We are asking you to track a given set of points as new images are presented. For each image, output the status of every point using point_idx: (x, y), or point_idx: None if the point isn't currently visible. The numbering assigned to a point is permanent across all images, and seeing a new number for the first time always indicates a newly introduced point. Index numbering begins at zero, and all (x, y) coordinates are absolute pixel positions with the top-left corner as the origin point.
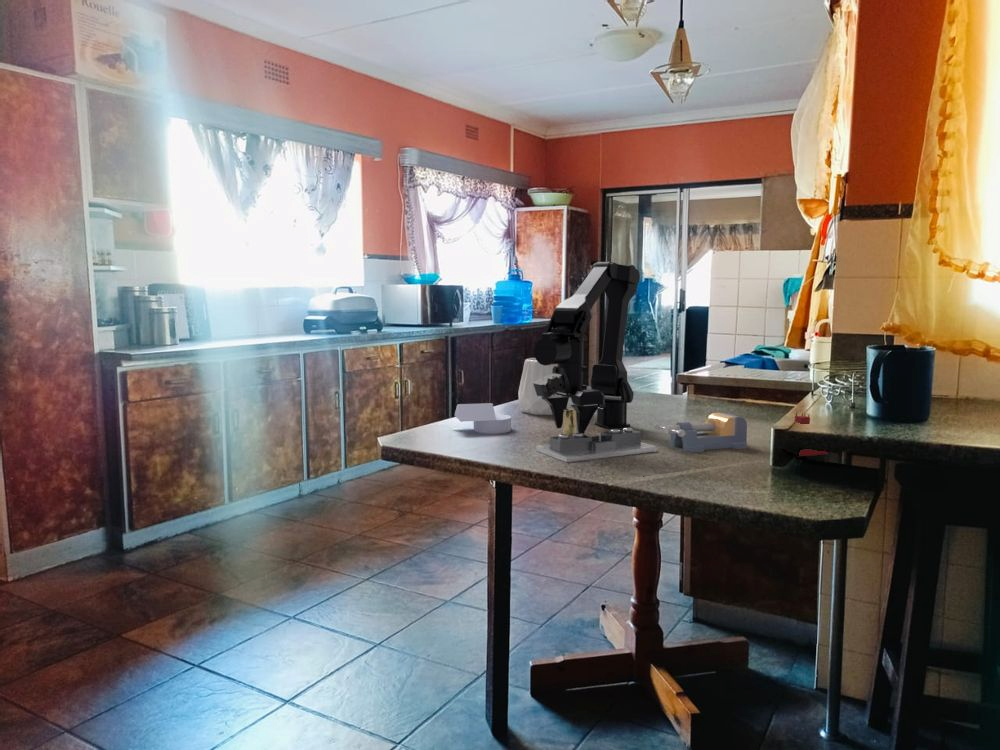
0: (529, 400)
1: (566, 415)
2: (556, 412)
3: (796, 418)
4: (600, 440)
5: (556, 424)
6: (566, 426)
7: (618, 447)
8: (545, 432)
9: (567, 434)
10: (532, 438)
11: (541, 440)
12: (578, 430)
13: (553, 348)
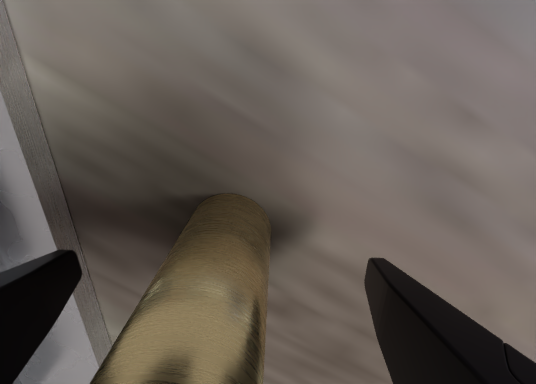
0: None
1: (125, 350)
2: (450, 380)
3: None
4: None
5: (386, 271)
6: (174, 256)
7: None
8: (526, 237)
9: (189, 224)
10: (429, 41)
11: (322, 67)
12: (34, 264)
13: None
